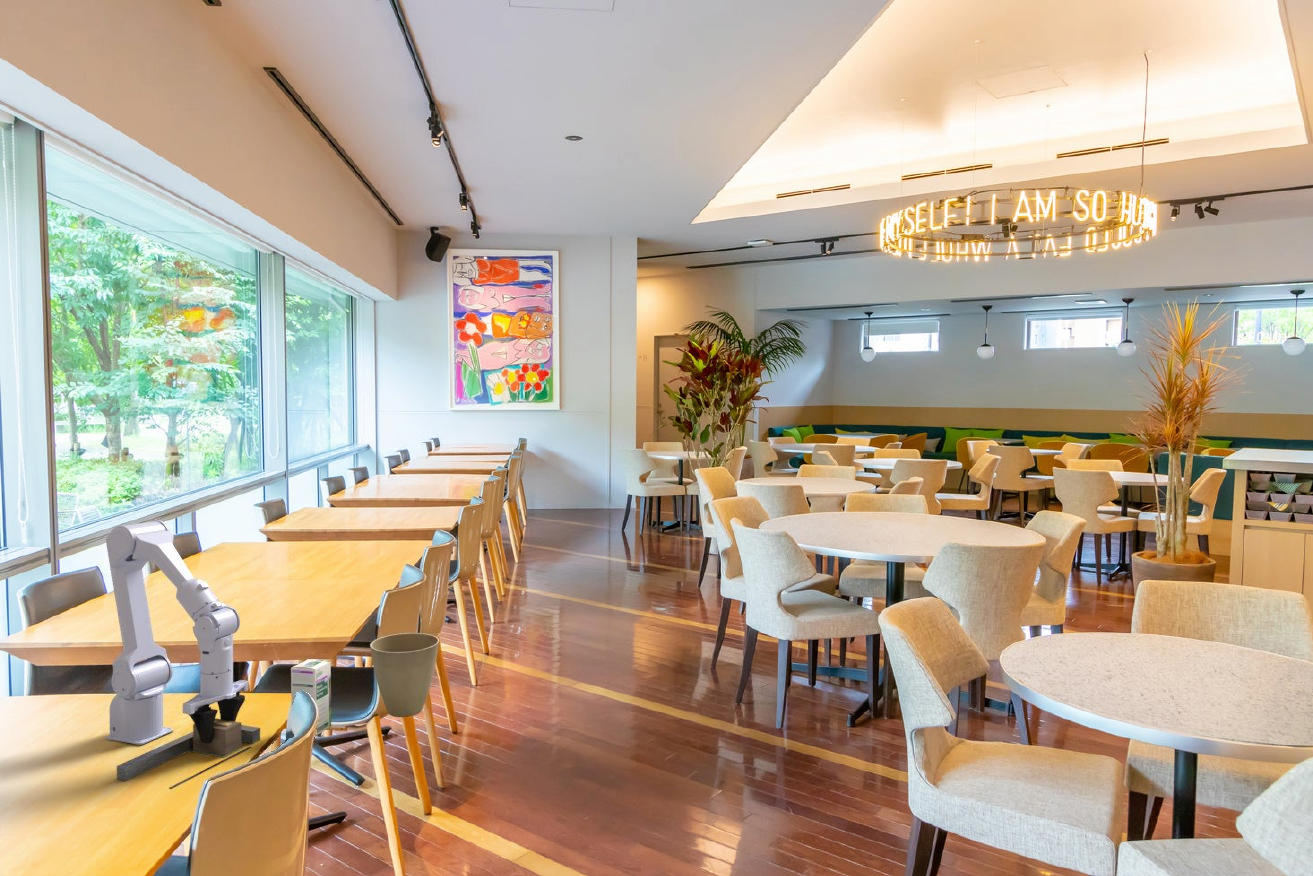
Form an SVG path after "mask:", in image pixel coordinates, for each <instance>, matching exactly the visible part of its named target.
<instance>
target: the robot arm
mask: <svg viewBox="0 0 1313 876" xmlns="http://www.w3.org/2000/svg"><path fill="white" fill-rule="evenodd" d="M105 542H106V550H107V551H106V552H107V557H108V561H109V562H108V563H109V568H110V569H109V570H110V574H111V575H110V576H111V581H112V582H111V583H112V588H113V592H114V599H115V605H116V611H117V618H118V623H119V629H120V630H119V631H120V637H121V641H122V648H123V650H122V651H121V652H120V654H119V655H118V656H117V657H116V658H115V659H114V660H113V662H112V676H111V687H112V690H113V691H114V693H115V694H116V695H115V696H114V697H113V698H112V699H111V701H110V705H109V734H108V735H106V736H105V739H106V740H111V741H117V742H122V743H127V744H132V745H139V746H141V745H144V744H147V743H149V742H152V741H154V740H156V739H158V738H161V737H163V736H165V735H167V734H170V733H173V732H174V728H172V727H171V728H170V727H168V726H166V727H165V726H164V690H166V689H167V684H168V683H169V682H170V681H171V679H172V677H173V672H174V671H173V665H172V662H171V661H170V660H169V658H168V655H167V649H166V648H164V647H163V646H161V645H160V644H157V643H155V640H154V634H153V626H152V622H151V616H150V615H151V614H150V610H149V604H148V603H149V602H148V597H147V596H148V595H147V592H146V586H145V579H144V573H143V568H144V567H145V566H146V564H147V563H148V562H152V563H154V564H155V565H156V566H157V568H159V570H160V571H161V572H162V573H163V575H165V577H167V579H168V580H169V581H170V582H171V584H172V585H173V586H175V588H176V589H177V590H176V594H175V598H176V600H177V602H178V603H179V604H180V605H181V606H182V608H183V609H184V610H185V612H186V614H187V615H188V616H189V617H190V618H191V619H192V621H193V623H194V626H193V625H192V632H193V634H194V637H195V638H196V640H197V648H198V650H199V651H200V692H198V693H197V694H196V695H195V696H193V697H192V698H190V699H189V700H187V701H186V702H183V703H182V714H185V715H188V716H189V717H190V718H191V720H192V722H193V724H195V726H196V728H197V730H198V734H199V737H200V740H201V742H202V743H208V744H209V743H211V742H212V739H213V726H214V721H215V718H216V716H217V714H218V711H219V719H222V720H229V721H235V722H237V721H236V720H237V717H238V714H239V711H240V710H241V708H242V706H243V704H244V703H245V701H246V696H245V695H244V694H240V693H241V692H243V693H244V692H248V691H249V681H248V680H245V679H243V680H242V679H240V680H238V681H234V634H235V633H237V631H238V630H239V629H240V626H241V620H240V616H239V614H238V612H237V610H236V609H235V608H234V607H232V606H229V605H227V604H226V603H223V602H221V601H220V600H219V599H218V598H217V596H216V595H215V593H214V592H213V590H212V589H211V588H210V586H209V584H208V583H207V582H206V581H205V580H204V579H198V578H194V576H193V575H192V572H191V571H190V570H189V568H188V567H187V565H186V563H185V562H184V560H183V559H182V557H181V556H180V554H179V552H178V551H177V549H176V548H175V546H174V533H173V532H172V531H171V529H170V528H169V526H168V525H167V523H165V522H164V521H162V520H160V519H156V520H152V521H148V522H147V521H146V522H139V523H133V524H126V525H117V526H115V527H113V529H112V530H110V533H109V534H107V536H106V537H105ZM215 703H217V705H218V709H214V708H212V707H211V705H213V704H215Z"/></svg>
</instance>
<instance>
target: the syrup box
mask: <svg viewBox="0 0 1313 876" xmlns="http://www.w3.org/2000/svg"><path fill="white" fill-rule="evenodd" d="M331 664H332V663H331V661H330V660H328V659H327V660H325V659H316V658H315V659H311V658H310V659H309V658H307V659H306V660H304V661H302V662H301V663H298V664H297V665H294V666H291V668H290V677H291V678H290V681H291V682H290V684H291V685H290V690H291V691H290V692H291V693H290V694H291V697H290V698H291V699H290V702H291V703H290V704H291V706H292V705H293V703H294V699H295V697H296V695H295V694H296V692H299V691H300V690H304V691H305V692H307V693H309V694H310V695H311V697H312V698H313V699H314V700H315V701H316V703H317V705H318V707H319V720H318V727H317V734H316V735H315V738H316V737H317V736H318V735H320V734H322V733H324V732H325V731H326V730H328V729H330V728H331V727H332V687H331V686H332V683H331V682H332V680H331V679H332V677H331V676H332V674H331V673H332V671H331V669H332V668H331Z"/></svg>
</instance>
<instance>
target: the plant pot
mask: <svg viewBox="0 0 1313 876" xmlns="http://www.w3.org/2000/svg"><path fill="white" fill-rule="evenodd" d="M439 644H440V639H439V637H437V636H436V635H433V634H429V633H423V632H404V633H403V632H402V633H396V634H389V635H386V636H382V637H378V638H376V639H374V640H373V641H372V642H371V643H370V644H369V647H370V656H371V660H372V666H373V671H374V674H375V679H376V682H377V686H378V690H379V693H380V695H381V698H382V701H383V703H384V704H383V705H384V707H385V710H386V711H387V714H388V715H390V716H391V717H393V718H395V717H396V718H408V717H412V716H416V715H418V714H420V713H422V711H423V709H424V706H425V704H426V701H427V697H428V695H429V692H430V688H431V686H432V685H431V684H432V681H433V676H434V673H435V670H436V669H435V668H436V666H437V665H436V664H437V659H438V653H439V652H438V651H439V646H440V645H439Z"/></svg>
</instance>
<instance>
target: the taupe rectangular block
mask: <svg viewBox="0 0 1313 876" xmlns="http://www.w3.org/2000/svg"><path fill="white" fill-rule="evenodd" d="M241 725H242V722H241V721H229V720H222V719H220V718H216V717H215V721H214V726H213V739H212V742H211V743H209V744H208V743H202V742H201V740H200V737H199V734H198V730H197V728H196V726H195V723H193V725H192V732H193V749H194V750H200V751H205V752H211V753H217V754H222V755H227V754H229V753H231V752H233V751H235V750H237V749H239V748H241V746H242V742H241ZM241 749H242V748H241ZM239 750H240V749H239ZM237 751H238V750H237ZM235 752H236V751H235ZM233 753H234V752H233ZM231 754H232V753H231ZM229 755H230V754H229ZM227 756H228V755H227Z"/></svg>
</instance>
